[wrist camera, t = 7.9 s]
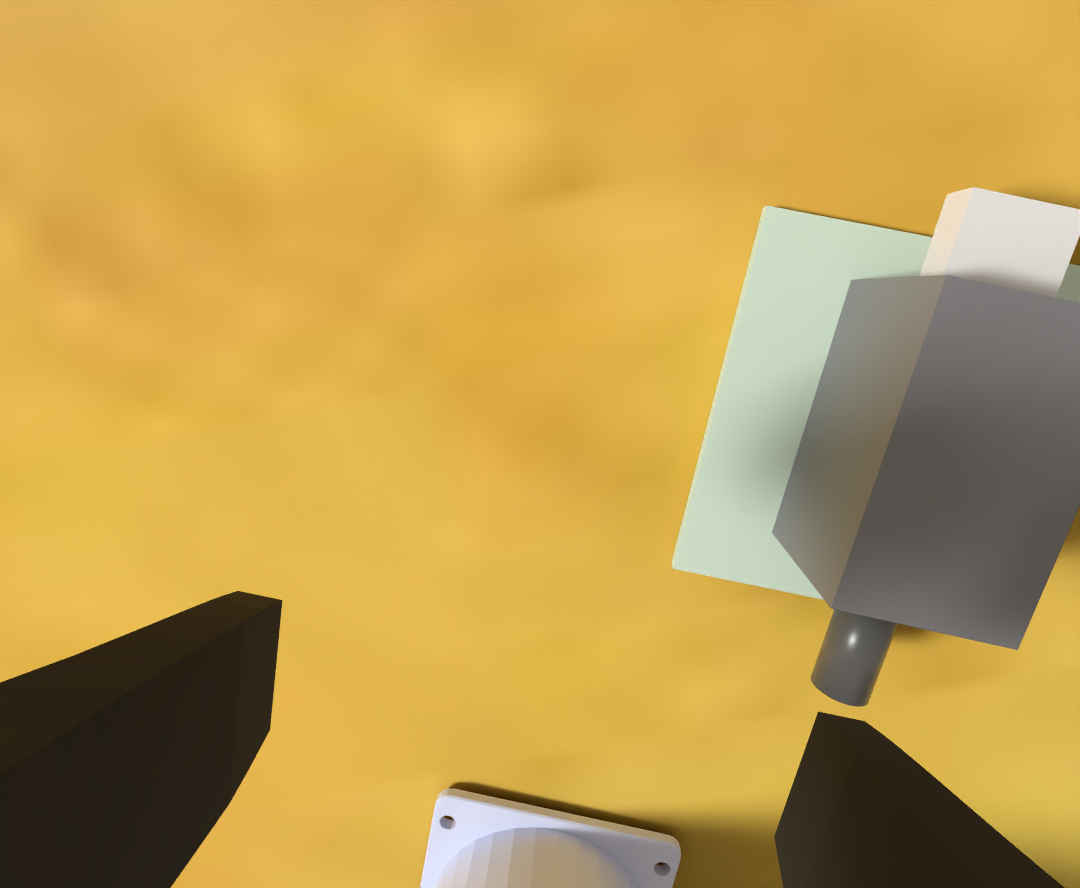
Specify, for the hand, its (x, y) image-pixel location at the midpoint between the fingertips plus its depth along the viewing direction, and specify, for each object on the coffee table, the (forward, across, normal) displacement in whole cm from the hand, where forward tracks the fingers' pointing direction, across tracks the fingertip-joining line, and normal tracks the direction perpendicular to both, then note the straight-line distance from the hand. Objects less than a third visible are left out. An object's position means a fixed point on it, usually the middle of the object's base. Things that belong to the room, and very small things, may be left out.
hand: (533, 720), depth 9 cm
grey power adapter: (+10, -8, -3) cm, 13 cm away
